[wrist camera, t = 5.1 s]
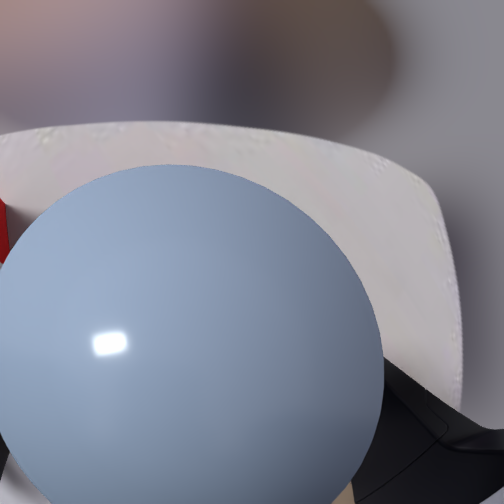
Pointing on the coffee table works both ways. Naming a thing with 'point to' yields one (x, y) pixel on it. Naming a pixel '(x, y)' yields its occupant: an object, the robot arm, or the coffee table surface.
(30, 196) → the coffee table surface
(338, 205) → the coffee table surface
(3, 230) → the puzzle toy
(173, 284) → the pale blue domed part
